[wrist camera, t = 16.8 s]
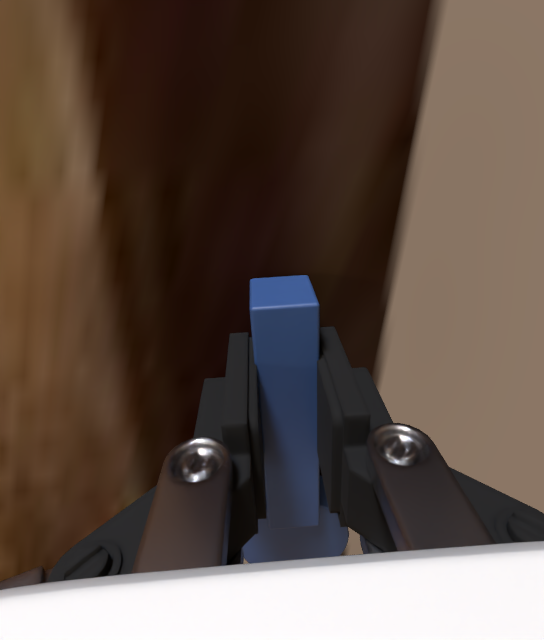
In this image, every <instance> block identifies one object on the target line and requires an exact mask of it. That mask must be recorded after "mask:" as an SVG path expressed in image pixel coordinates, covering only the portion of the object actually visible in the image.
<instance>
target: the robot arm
mask: <svg viewBox="0 0 544 640" xmlns="http://www.w3.org/2000/svg"><path fill="white" fill-rule="evenodd" d="M317 454H318V458H319V463H320V468H321V473H322V478H323V483H324V488H325V493H326V498H327V503H328V508H329V512H330V513H338V518H339V522H340V527H349V528H351V529H352V530H354V531H355V532H357V533H358V534H360V541H361V547H362V550H363V554H360V555H348V556H335V557H323V558H311V559H298V560H286V561H274V562H262V563H250V564H243V560H244V553H243V546H244V545H245V544H246V543H247V542H248V541H249V540H250V539H251V538H252V537H253V536H254V535H255V534H258V519H266V496H265V471H264V451H263V439H262V427H261V415H260V402H259V390H258V378H257V366H256V365H255V363H254V354H253V342H252V337H249V333H233V334H230V337H229V347H228V357H227V367H226V377H223V378H209V379H205V380H204V384H203V390H202V395H201V401H200V406H199V412H198V417H197V422H196V428H195V433H194V438H193V439H190V440H187V441H185V442H182V443H181V444H179V445H178V446H176V447H175V448H174V449H173V450H172V451H171V452H170V453H169V454H168V456H167V458H166V460H165V462H164V464H163V468H162V471H161V474H160V478H159V481H158V484H157V485H156V486H155V487H154V488H152V489H151V490H150V491H148V492H147V493H146V494H144V495H143V496H141V497H140V498H139V499H137V500H136V501H135V502H133V503H132V504H131V505H129V506H128V507H126V508H125V509H124V510H122V511H121V512H120V513H118V514H117V515H116V516H114V517H113V518H111V519H110V520H109V521H107V522H106V523H105V524H103V525H102V526H101V527H99V528H98V529H96V530H95V531H94V532H92V533H91V534H90V535H88V536H87V537H86V538H84V539H83V540H81V541H80V542H79V543H77V544H76V545H75V546H73V547H72V548H71V549H70V550H69V551H68V552H66V553H65V554H64V555H63V556H62V557H61V558H60V560H59V561H58V562H57V564H56V565H55V566H54V568H51V569H49V570H46V571H45V570H44V568H43V566H40V567H37V568H34V569H32V570H29V571H27V572H24V573H22V574H19V575H16V576H14V577H11V578H9V579H6V580H3V581H1V582H0V640H544V514H543V513H542V512H540V511H538V510H537V509H535V508H532V507H530V506H528V505H526V504H524V503H522V502H520V501H518V500H516V499H514V498H512V497H510V496H508V495H506V494H503V493H502V492H499V491H497V490H495V489H493V488H491V487H489V486H487V485H485V484H483V483H481V482H479V481H477V480H475V479H473V478H471V477H469V476H467V475H464V474H462V473H460V472H458V471H456V470H454V469H452V468H450V467H449V466H448V465H447V463H446V462H445V460H444V458H443V457H442V456H441V454H440V452H439V451H438V449H437V447H436V446H435V444H434V443H433V441H432V440H431V439H430V438H429V437H428V435H426V434H425V433H423V432H422V431H420V430H419V429H417V428H414V427H412V426H410V425H405V424H400V423H393V421H392V419H391V417H390V415H389V413H388V411H387V409H386V407H385V405H384V402H383V401H382V398H381V396H380V394H379V392H378V390H377V388H376V386H375V384H374V382H373V380H372V378H371V375H370V373H369V371H368V370H367V368H365V367H363V368H351V366H350V363H349V361H348V358H347V356H346V354H345V351H344V349H343V346H342V344H341V342H340V339H339V337H338V334H337V332H336V330H335V327H320V359H319V360H318V361H317Z"/></svg>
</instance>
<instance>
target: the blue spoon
mask: <svg viewBox="0 0 544 640" xmlns="http://www.w3.org/2000/svg"><path fill="white" fill-rule="evenodd" d="M250 319H251V331H252V342H253V354H254V363H255V365H256V366H257V378H258V390H259V402H260V415H261V427H262V439H263V451H264V471H265V496H266V519H258V534H255V535H254V536H253V537H252V538H251V539H250V540H249V541H248V542H247V543H246V544H245V545H244V546H243V553H244V558H245V559H246V561H247V562H248V563H262V562H274V561H286V560H298V559H311V558H323V557H335V556H340V555H341V554H342V552H343V551H344V549H345V548H346V545H347V542H348V537H349V531H348V527H340V522H339V518H338V513H330V512H329V508H328V503H327V498H326V493H325V488H324V483H323V478H322V476H320V463H319V458H318V454H317V361H318V360H319V359H320V305H319V303H318V300H317V297H316V295H315V292H314V290H313V287H312V285H311V282H310V279H309V277H308V276H307V275H299V276H284V277H270V278H255V279H251V280H250Z"/></svg>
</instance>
